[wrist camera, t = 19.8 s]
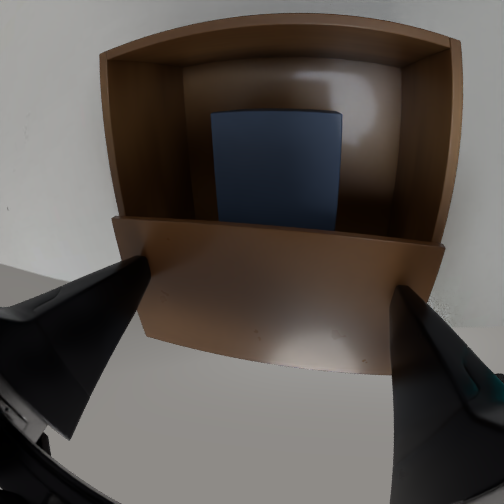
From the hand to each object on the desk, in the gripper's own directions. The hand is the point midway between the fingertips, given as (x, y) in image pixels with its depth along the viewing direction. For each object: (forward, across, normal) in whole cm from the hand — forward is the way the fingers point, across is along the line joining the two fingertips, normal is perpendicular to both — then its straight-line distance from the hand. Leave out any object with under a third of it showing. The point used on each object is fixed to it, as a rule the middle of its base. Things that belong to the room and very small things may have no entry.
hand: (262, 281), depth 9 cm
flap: (0, 0, +1) cm, 1 cm away
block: (+7, 0, -3) cm, 7 cm away
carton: (+7, 0, -2) cm, 7 cm away
